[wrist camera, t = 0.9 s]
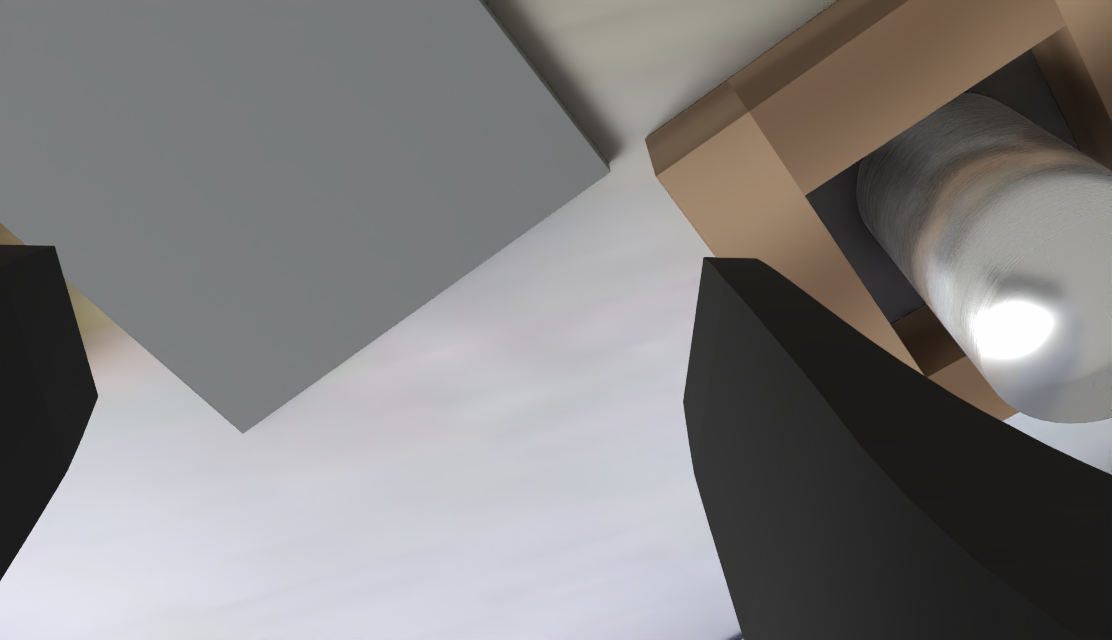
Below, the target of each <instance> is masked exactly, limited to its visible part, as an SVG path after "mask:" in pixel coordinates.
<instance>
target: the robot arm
mask: <svg viewBox="0 0 1112 640" xmlns="http://www.w3.org/2000/svg"><path fill="white" fill-rule="evenodd" d="M97 398H98V394H97V390H96V387H95V383H94V380H93V376H92V373H91V370H90V366H89V363H88V359H87V356H86V352H85V349H84V345H83V342H82V338H81V335H80V331H79V328H78V324H77V321H76V318H75V314H74V311H73V307H72V304H71V300H70V297H69V293H68V290H67V286H66V283H65V279H64V276H63V272H62V269H61V265H60V262H59V259H58V255H57V252H56V248H55V246H42V245H0V581H1V579H2V577H3V576H4V574H5V573H6V571H7V569H8V568H9V566H10V564H11V563H12V561H13V560H14V558H15V556H16V555H17V553H18V552H19V550H20V548H21V547H22V545H23V544H24V542H25V540H26V539H27V537H28V536H29V534H30V532H31V531H32V529H33V527H34V526H35V524H36V523H37V521H38V519H39V518H40V516H41V514H42V513H43V511H44V509H45V508H46V506H47V504H48V503H49V501H50V499H51V498H52V496H53V494H54V493H55V491H56V490H57V488H58V486H59V484H60V483H61V481H62V479H63V477H64V476H65V474H66V472H67V471H68V468H69V466H70V464H71V462H72V459H73V457H74V455H75V453H76V450H77V448H78V446H79V444H80V441H81V439H82V437H83V434H84V432H85V429H86V426H87V424H88V421H89V419H90V416H91V414H92V411H93V408H94V406H95V403H96V401H97ZM683 404H684V411H685V418H686V425H687V432H688V439H689V445H690V451H691V458H692V464H693V470H694V475H695V478H696V482H697V485H698V489H699V492H700V496H701V499H702V503H703V506H704V509H705V513H706V516H707V520H708V523H709V526H710V530H711V533H712V536H713V540H714V543H715V546H716V549H717V553H718V556H719V559H720V563H721V566H722V569H723V573H724V576H725V579H726V582H727V586H728V589H729V592H730V596H731V599H732V602H733V606H734V609H735V612H736V615H737V619H738V622H739V625H740V629H741V632H742V635H743V639H741V640H1112V475H1111V474H1109V473H1106V472H1104V471H1102V470H1099V469H1097V468H1095V467H1093V466H1090V465H1088V464H1086V463H1084V462H1081V461H1079V460H1077V459H1075V458H1073V457H1071V456H1069V455H1067V454H1065V453H1063V452H1061V451H1059V450H1056V449H1054V448H1052V447H1050V446H1048V445H1046V444H1044V443H1042V442H1040V441H1038V440H1036V439H1034V438H1033V437H1031V436H1029V435H1027V434H1025V433H1023V432H1021V431H1019V430H1018V429H1016V428H1014V427H1012V426H1010V425H1008V424H1006V423H1004V422H1003V421H1001V420H999V419H997V418H995V417H993V416H991V415H989V414H988V413H986V412H984V411H982V410H980V409H978V408H977V407H975V406H973V405H971V404H970V403H968V402H966V401H965V400H963V399H961V398H959V397H958V396H956V395H954V394H953V393H951V392H949V391H948V390H946V389H944V388H943V387H941V386H940V385H938V384H937V383H935V382H933V381H932V380H930V379H929V378H927V377H926V376H924V375H922V374H921V373H919V372H918V371H916V370H915V369H913V368H912V367H910V366H908V365H907V364H905V363H904V362H902V361H901V360H899V359H898V358H896V357H895V356H893V355H892V354H890V353H889V352H887V351H886V350H885V349H883V348H882V347H880V346H879V345H877V344H876V343H874V342H873V341H872V340H870V339H869V338H867V337H866V336H864V335H863V334H862V333H860V332H859V331H857V330H856V329H855V328H853V327H852V326H851V325H849V324H848V323H846V322H845V321H844V320H842V319H841V318H840V317H838V316H837V315H836V314H834V313H833V312H832V311H830V310H829V309H828V308H826V307H825V306H823V305H822V304H821V303H820V302H818V301H817V300H816V299H814V298H813V297H812V296H810V295H809V294H808V293H806V292H805V291H804V290H802V289H801V288H800V287H798V286H797V285H796V284H794V283H793V282H791V281H790V280H789V279H787V278H786V277H785V276H783V275H782V274H781V273H779V272H778V271H776V270H775V269H773V268H772V267H770V266H769V265H767V264H766V263H764V262H762V261H761V260H759V259H757V258H719V257H704V258H703V266H702V273H701V280H700V287H699V294H698V301H697V308H696V315H695V322H694V329H693V336H692V343H691V350H690V357H689V364H688V371H687V378H686V386H685V393H684V400H683Z"/></svg>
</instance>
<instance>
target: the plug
mask: <svg viewBox="0 0 1112 640" xmlns="http://www.w3.org/2000/svg"><path fill="white" fill-rule="evenodd" d="M856 199H857V204H858V209H859V212H860V215H861V218H862V219H863V221H864V223H865V225H866V227H867V228H868V229H869V231H870V232H871V233H872V235H873V236H874V237H875V238H876V240H877V241H878V242H879V243H880V245H881V246H882V247H883V249H884V250H885V251H886V252H887V254H888V255H889V256H890V258H891V259H892V260H893V261H894V263H895V264H896V265H897V267H898V268H899V269H900V270H901V272H902V273H903V274H904V275H905V277H906V278H907V279H908V281H909V282H910V283H911V284H912V286H913V287H914V288H915V290H916V291H917V292H918V293H919V295H920V296H921V297H922V298H923V300H924V301H925V302H926V304H927V305H928V306H929V307H930V309H931V310H932V311H933V313H934V314H935V315H936V316H937V318H938V319H939V320H940V322H941V323H942V324H943V325H944V327H945V328H946V329H947V330H948V332H949V333H950V334H951V336H952V337H953V338H954V339H955V341H956V342H957V343H958V345H959V346H960V347H961V348H962V350H963V351H964V352H965V353H966V355H967V356H968V357H969V359H970V360H971V361H972V362H973V364H974V365H975V366H976V368H977V369H978V370H979V371H980V373H981V374H982V375H983V377H984V378H985V379H986V380H987V382H988V383H989V384H990V385H991V387H992V388H993V389H994V391H995V392H996V393H997V394H998V396H999V397H1001V398H1002V399H1003V400H1004V401H1005V402H1006V403H1007V404H1008V405H1010V406H1011V407H1013V408H1014V409H1016V410H1017V411H1019V412H1021V413H1024V414H1026V415H1028V416H1030V417H1034V418H1037V419H1040V420H1044V421H1050V422H1056V423H1086V422H1093V421H1100V420H1104V419H1108V418H1112V171H1111V170H1109V169H1108V168H1106V167H1105V166H1103V165H1101V164H1100V163H1098V162H1096V161H1095V160H1093V159H1092V158H1090V157H1088V156H1087V155H1085V154H1084V153H1082V152H1080V151H1079V150H1077V149H1075V148H1074V147H1072V146H1071V145H1069V144H1067V143H1066V142H1064V141H1062V140H1061V139H1059V138H1058V137H1056V136H1054V135H1053V134H1051V133H1049V132H1048V131H1046V130H1045V129H1043V128H1041V127H1040V126H1038V125H1036V124H1035V123H1033V122H1032V121H1030V120H1028V119H1027V118H1025V117H1023V116H1022V115H1020V114H1019V113H1017V112H1015V111H1014V110H1012V109H1011V108H1009V107H1007V106H1006V105H1004V104H1002V103H1000V102H999V101H997V100H995V99H993V98H990V97H987V96H985V95H980V94H975V93H965V92H963V93H962V94H960V95H958V96H957V97H955V98H954V99H952V100H951V101H949V102H948V103H946V104H945V105H943V106H942V107H940V108H939V109H937V110H935V111H934V112H932V113H931V114H929V115H928V116H926V117H925V118H923V119H922V120H920V121H919V122H917V123H916V124H914V125H912V126H911V127H909V128H908V129H906V130H905V131H903V132H902V133H900V134H899V135H897V136H896V137H894V138H893V139H891V140H889V141H888V142H886V143H885V144H883V145H882V146H880V147H879V148H877V149H876V150H874V151H873V152H871V153H870V154H868V155H866V156H865V157H863V160H862V162H861V165H860V168H859V172H858V176H857V184H856Z"/></svg>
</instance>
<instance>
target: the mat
mask: <svg viewBox="0 0 1112 640" xmlns="http://www.w3.org/2000/svg"><path fill="white" fill-rule="evenodd" d="M609 172H610V166H609V164H608V162H607V161H606V160H605V158H604V157H603V156H602V154H601V153H600V152H599V150H598V149H597V148H596V147H595V145H594V144H593V143H592V141H591V140H590V139H589V137H588V136H587V135H586V133H585V132H584V131H583V130H582V128H581V127H580V126H579V124H578V123H577V122H576V120H575V119H574V118H573V116H572V115H571V114H570V113H569V111H568V110H567V109H566V107H565V106H564V105H563V103H562V102H561V101H560V99H559V98H558V97H557V96H556V94H555V93H554V92H553V90H552V89H551V88H550V86H549V85H548V84H547V82H546V81H545V80H544V79H543V77H542V76H541V75H540V73H539V72H538V71H537V69H536V68H535V67H534V65H533V64H532V63H531V61H530V60H529V59H528V58H527V56H526V55H525V54H524V52H523V51H522V50H521V48H520V47H519V46H518V44H517V43H516V42H515V41H514V39H513V38H512V37H511V35H510V34H509V33H508V31H507V30H506V29H505V27H504V26H503V25H502V24H501V22H500V21H499V20H498V18H497V17H496V16H495V14H494V13H493V12H492V10H491V9H490V8H489V7H488V5H487V4H486V3H485V1H484V0H0V223H2V224H3V225H4V226H5V227H6V228H7V229H8V230H10V231H11V232H12V233H13V234H14V235H15V236H16V237H18V238H19V239H20V240H21V241H22V242H23V243H24V244H26V245H42V246H55V248H56V252H57V255H58V259H59V262H60V265H61V269H62V272H63V276H64V278H65V279H66V280H67V281H68V282H69V283H70V284H72V285H73V286H74V287H75V288H76V289H77V290H78V291H80V292H81V293H82V294H83V295H84V296H85V297H86V298H88V299H89V300H90V301H91V302H92V303H93V304H95V305H96V306H97V307H98V308H99V309H100V310H101V311H103V312H104V313H105V314H106V315H107V316H108V317H109V318H111V319H112V320H113V321H114V322H115V323H116V324H117V325H119V326H120V327H121V328H122V329H123V330H124V331H126V332H127V333H128V334H129V335H130V336H131V337H132V338H134V339H135V340H136V341H137V342H138V343H139V344H140V345H142V346H143V347H144V348H145V349H146V350H147V351H148V352H150V353H151V354H152V355H153V356H154V357H155V358H157V359H158V360H159V361H160V362H161V363H162V364H163V365H165V366H166V367H167V368H168V369H169V370H170V371H171V372H173V373H174V374H175V375H176V376H177V377H178V378H179V379H181V380H182V381H183V382H184V383H185V384H186V385H188V386H189V387H190V388H191V389H192V390H193V391H194V392H196V393H197V394H198V395H199V396H200V397H201V398H202V399H204V400H205V401H206V402H207V403H208V404H209V405H210V406H212V407H213V408H214V409H215V410H216V411H217V412H219V413H220V414H221V415H222V416H223V417H224V418H225V419H227V420H228V421H229V422H230V423H231V424H232V425H233V426H235V427H236V428H237V429H238V430H239V431H240V432H241V433H245V432H246V431H247V430H249V429H250V428H252V427H253V426H255V425H256V424H257V423H259V422H260V421H262V420H263V419H264V418H266V417H267V416H269V415H270V414H271V413H273V412H274V411H276V410H277V409H278V408H280V407H281V406H283V405H284V404H285V403H287V402H288V401H290V400H291V399H292V398H294V397H295V396H297V395H298V394H299V393H301V392H302V391H304V390H305V389H306V388H308V387H309V386H311V385H312V384H313V383H315V382H316V381H318V380H319V379H320V378H322V377H323V376H325V375H326V374H327V373H329V372H330V371H332V370H333V369H334V368H336V367H337V366H339V365H340V364H342V363H343V362H344V361H346V360H347V359H349V358H350V357H351V356H353V355H354V354H356V353H357V352H358V351H360V350H361V349H363V348H364V347H365V346H367V345H368V344H370V343H371V342H372V341H374V340H375V339H377V338H378V337H379V336H381V335H382V334H384V333H385V332H386V331H388V330H389V329H391V328H392V327H393V326H395V325H396V324H398V323H399V322H400V321H402V320H403V319H405V318H406V317H407V316H409V315H410V314H412V313H413V312H414V311H416V310H417V309H419V308H420V307H421V306H423V305H424V304H426V303H427V302H428V301H430V300H431V299H433V298H434V297H436V296H437V295H438V294H440V293H441V292H443V291H444V290H445V289H447V288H448V287H450V286H451V285H452V284H454V283H455V282H457V281H458V280H459V279H461V278H462V277H464V276H465V275H466V274H468V273H469V272H471V271H472V270H473V269H475V268H476V267H478V266H479V265H480V264H482V263H483V262H485V261H486V260H487V259H489V258H490V257H492V256H493V255H494V254H496V253H497V252H499V251H500V250H501V249H503V248H504V247H506V246H507V245H508V244H510V243H511V242H513V241H514V240H515V239H517V238H518V237H520V236H521V235H523V234H524V233H525V232H527V231H528V230H530V229H531V228H532V227H534V226H535V225H537V224H538V223H539V222H541V221H542V220H544V219H545V218H546V217H548V216H549V215H551V214H552V213H553V212H555V211H556V210H558V209H559V208H560V207H562V206H563V205H565V204H566V203H567V202H569V201H570V200H572V199H573V198H574V197H576V196H577V195H579V194H580V193H581V192H583V191H584V190H586V189H587V188H588V187H590V186H591V185H593V184H594V183H595V182H597V181H598V180H600V179H601V178H602V177H604V176H605V175H607V174H608V173H609Z"/></svg>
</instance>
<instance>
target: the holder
mask: <svg viewBox="0 0 1112 640" xmlns="http://www.w3.org/2000/svg"><path fill="white" fill-rule="evenodd" d="M1029 49H1031V51H1032V53H1033V55H1034V57H1035V59H1036V61H1037V63H1038V65H1039V68H1040V70H1041V72H1042V74H1043V76H1044V78H1045V80H1046V82H1047V84H1048V86H1049V88H1050V90H1051V92H1052V94H1053V96H1054V98H1055V100H1056V102H1057V104H1058V106H1059V108H1060V110H1061V112H1062V114H1063V116H1064V118H1065V120H1066V122H1067V124H1068V126H1069V128H1070V130H1071V132H1072V135H1073V137H1074V139H1075V141H1076V143H1077V145H1078V147H1079V149H1080V151H1081V152H1082V153H1084V154H1085V155H1087V156H1088V157H1090V158H1092V159H1093V160H1095V161H1096V162H1098V163H1100V164H1101V165H1103V166H1105V167H1106V168H1108V169H1109V170H1111V171H1112V0H838V1H837V2H835V3H834V4H833V5H831V6H830V7H828V8H827V9H826V10H824V11H823V12H822V13H820V14H819V15H817V16H816V17H815V18H813V19H812V20H810V21H809V22H808V23H806V24H805V25H803V26H802V27H801V28H799V29H798V30H796V31H795V32H794V33H792V34H791V35H789V36H788V37H787V38H785V39H784V40H782V41H781V42H780V43H778V44H777V45H775V46H774V47H773V48H771V49H770V50H768V51H767V52H766V53H764V54H763V55H761V56H760V57H759V58H757V59H756V60H754V61H753V62H752V63H750V64H749V65H747V66H746V67H745V68H743V69H742V70H741V71H739V72H738V73H736V74H735V75H734V76H732V77H731V78H729V79H728V80H727V81H725V82H724V83H722V84H721V85H720V86H718V87H717V88H715V89H714V90H713V91H711V92H710V93H708V94H707V95H706V96H704V97H703V98H701V99H700V100H699V101H697V102H696V103H694V104H693V105H692V106H690V107H689V108H687V109H686V110H685V111H683V112H682V113H680V114H679V115H678V116H676V117H675V118H673V119H672V120H671V121H669V122H668V123H666V124H665V125H664V126H662V127H661V128H660V129H658V130H657V131H655V132H654V133H653V134H651V135H650V136H648V137H647V138H646V139H645V141H646V144H647V148H648V151H649V155H650V158H651V162H652V165H653V168H654V172H655V175H656V177H657V179H658V180H659V181H660V183H661V184H662V185H663V187H664V188H665V190H666V191H667V192H668V194H669V195H670V196H671V198H672V199H673V200H674V202H675V203H676V204H677V206H678V207H679V208H680V210H681V211H682V212H683V214H684V215H685V216H686V218H687V219H688V221H689V222H690V223H691V225H692V226H693V227H694V229H695V230H696V231H697V233H698V234H699V235H700V237H701V238H702V239H703V241H704V242H705V243H706V245H707V246H708V247H709V249H710V250H711V251H712V253H713V254H714V256H715V257H719V258H757V259H759V260H761V261H762V262H764V263H766V264H767V265H769V266H770V267H772V268H773V269H775V270H776V271H778V272H779V273H781V274H782V275H783V276H785V277H786V278H787V279H789V280H790V281H791V282H793V283H794V284H796V285H797V286H798V287H800V288H801V289H802V290H804V291H805V292H806V293H808V294H809V295H810V296H812V297H813V298H814V299H816V300H817V301H818V302H820V303H821V304H822V305H823V306H825V307H826V308H828V309H829V310H830V311H832V312H833V313H834V314H836V315H837V316H838V317H840V318H841V319H842V320H844V321H845V322H846V323H848V324H849V325H851V326H852V327H853V328H855V329H856V330H857V331H859V332H860V333H862V334H863V335H864V336H866V337H867V338H869V339H870V340H872V341H873V342H874V343H876V344H877V345H879V346H880V347H882V348H883V349H885V350H886V351H887V352H889V353H890V354H892V355H893V356H895V357H896V358H898V359H899V360H901V361H902V362H904V363H905V364H907V365H908V366H910V367H912V368H913V369H915V370H916V371H918V372H919V373H921V374H922V375H924V376H926V377H927V378H929V379H930V380H932V381H933V382H935V383H937V384H938V385H940V386H941V387H943V388H944V389H946V390H948V391H949V392H951V393H953V394H954V395H956V396H958V397H959V398H961V399H963V400H965V401H966V402H968V403H970V404H971V405H973V406H975V407H977V408H978V409H980V410H982V411H984V412H986V413H988V414H989V415H991V416H993V417H995V418H997V419H999V420H1001V421H1003V420H1005V419H1007V418H1009V417H1011V416H1013V415H1015V414H1016V413H1018V412H1019V411H1017V410H1016V409H1014V408H1013V407H1011V406H1010V405H1008V404H1007V403H1006V402H1005V401H1004V400H1003V399H1002V398H1001V397H999V396H998V394H997V393H996V392H995V391H994V389H993V388H992V387H991V385H990V384H989V383H988V382H987V380H986V379H985V378H984V377H983V375H982V374H981V373H980V371H979V370H978V369H977V368H976V366H975V365H974V364H973V362H972V361H971V360H970V359H969V357H968V356H967V355H966V353H965V352H964V351H963V350H962V348H961V347H960V346H959V345H958V343H957V342H956V341H955V339H954V338H953V337H952V336H951V334H950V333H949V332H948V330H947V329H946V328H945V327H944V325H943V324H942V323H941V322H940V320H939V319H938V318H937V316H936V315H935V314H934V313H933V311H932V310H931V309H930V307H929V306H928V305H927V304H925V305H923V306H922V307H920V308H918V309H917V310H915V311H913V312H911V313H910V314H908V315H906V316H905V317H903V318H901V319H899V320H898V321H896V322H894V323H893V324H891V325H890V323H889V322H888V320H887V319H886V317H885V316H884V314H883V313H882V311H881V310H880V308H879V307H878V305H877V304H876V302H875V301H874V299H873V298H872V296H871V295H870V293H869V292H868V290H867V289H866V287H865V286H864V284H863V283H862V281H861V280H860V278H859V277H858V275H857V274H856V272H855V271H854V269H853V268H852V266H851V265H850V263H849V262H848V260H847V259H846V257H845V256H844V254H843V253H842V251H841V250H840V248H839V247H838V245H837V244H836V242H835V241H834V239H833V238H832V236H831V235H830V233H829V232H828V230H827V229H826V227H825V226H824V224H823V223H822V221H821V220H820V218H819V217H818V215H817V214H816V212H815V211H814V209H813V208H812V206H811V205H810V203H809V202H808V200H807V199H806V197H805V195H807V194H808V193H810V192H811V191H813V190H814V189H816V188H817V187H819V186H820V185H822V184H824V183H825V182H827V181H828V180H830V179H831V178H833V177H834V176H836V175H837V174H839V173H840V172H842V171H843V170H845V169H847V168H848V167H850V166H851V165H853V164H854V163H856V162H857V161H859V160H860V159H862V158H863V157H865V156H866V155H868V154H870V153H871V152H873V151H874V150H876V149H877V148H879V147H880V146H882V145H883V144H885V143H886V142H888V141H889V140H891V139H893V138H894V137H896V136H897V135H899V134H900V133H902V132H903V131H905V130H906V129H908V128H909V127H911V126H912V125H914V124H916V123H917V122H919V121H920V120H922V119H923V118H925V117H926V116H928V115H929V114H931V113H932V112H934V111H935V110H937V109H939V108H940V107H942V106H943V105H945V104H946V103H948V102H949V101H951V100H952V99H954V98H955V97H957V96H958V95H960V94H962V93H963V92H965V91H966V90H968V89H969V88H971V87H972V86H974V85H975V84H977V83H978V82H980V81H981V80H983V79H985V78H986V77H988V76H989V75H991V74H992V73H994V72H995V71H997V70H998V69H1000V68H1001V67H1003V66H1004V65H1006V64H1008V63H1009V62H1011V61H1012V60H1014V59H1015V58H1017V57H1018V56H1020V55H1021V54H1023V53H1024V52H1026V51H1027V50H1029Z"/></svg>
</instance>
